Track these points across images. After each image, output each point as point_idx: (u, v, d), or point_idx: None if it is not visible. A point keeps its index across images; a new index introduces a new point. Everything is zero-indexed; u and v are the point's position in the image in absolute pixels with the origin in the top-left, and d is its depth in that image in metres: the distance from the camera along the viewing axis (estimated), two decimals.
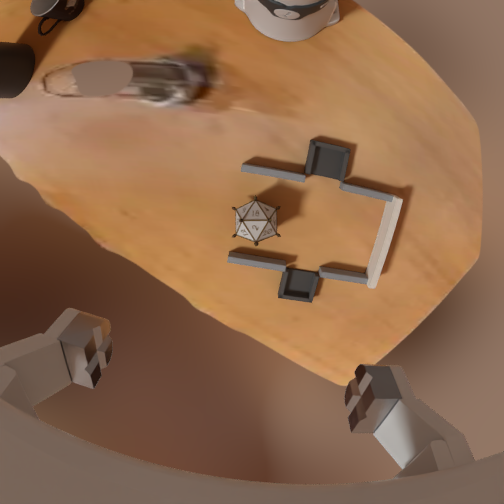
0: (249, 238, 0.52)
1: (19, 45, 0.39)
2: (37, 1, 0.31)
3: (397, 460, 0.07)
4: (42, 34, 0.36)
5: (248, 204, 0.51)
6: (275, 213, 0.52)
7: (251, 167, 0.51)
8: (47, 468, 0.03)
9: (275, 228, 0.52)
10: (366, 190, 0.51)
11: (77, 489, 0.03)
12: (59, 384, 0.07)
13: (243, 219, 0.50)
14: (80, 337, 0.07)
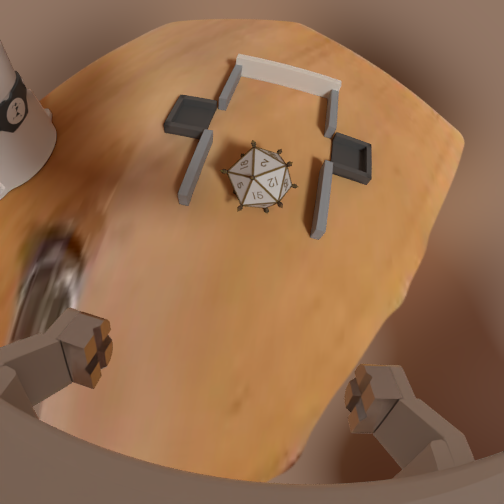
0: (282, 175, 0.34)
1: None
2: None
3: (397, 460, 0.07)
4: None
5: (233, 181, 0.35)
6: None
7: (183, 183, 0.37)
8: (47, 468, 0.03)
9: None
10: (228, 82, 0.44)
11: (77, 489, 0.03)
12: (59, 384, 0.07)
13: None
14: (80, 337, 0.07)
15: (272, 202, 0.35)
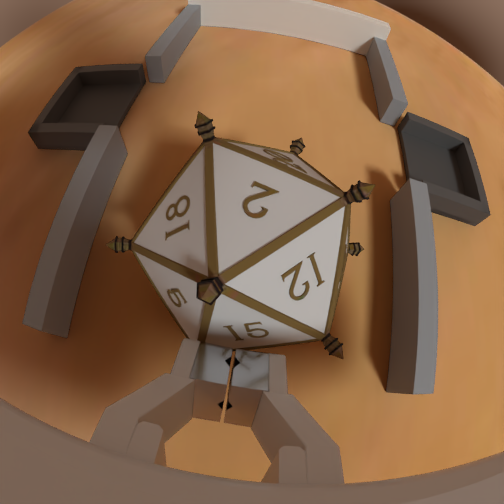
0: (335, 243, 0.08)
1: None
2: None
3: (272, 462, 0.07)
4: None
5: (154, 280, 0.10)
6: None
7: (34, 289, 0.11)
8: (47, 468, 0.03)
9: None
10: (169, 28, 0.18)
11: (77, 489, 0.03)
12: (181, 423, 0.07)
13: (207, 275, 0.07)
14: (216, 372, 0.07)
15: (304, 341, 0.09)
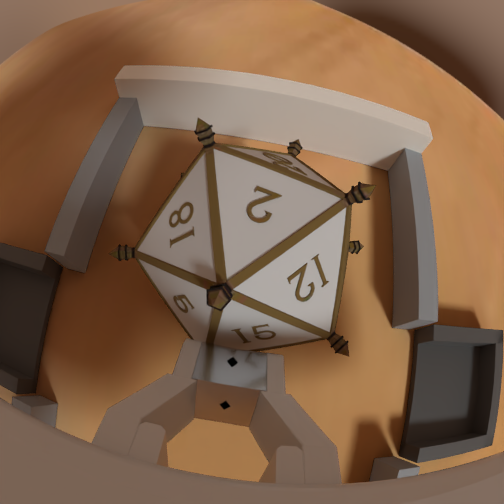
0: (338, 244, 0.08)
1: None
2: None
3: (270, 462, 0.07)
4: None
5: (159, 287, 0.10)
6: None
7: None
8: (47, 468, 0.03)
9: None
10: (80, 171, 0.13)
11: (77, 489, 0.03)
12: (183, 424, 0.07)
13: (215, 282, 0.07)
14: (218, 372, 0.07)
15: (310, 340, 0.09)
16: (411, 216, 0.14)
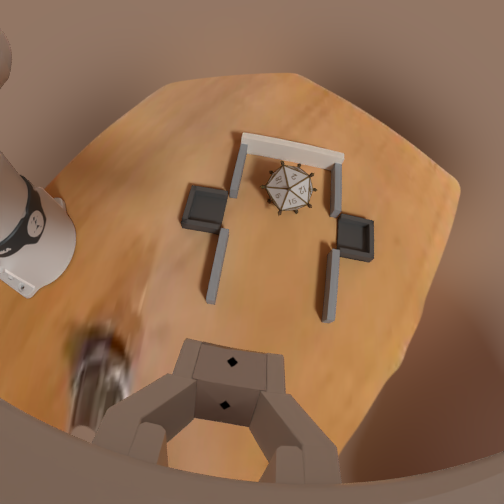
0: (307, 184, 0.45)
1: None
2: None
3: (270, 462, 0.07)
4: None
5: (271, 193, 0.46)
6: None
7: (209, 288, 0.42)
8: (47, 468, 0.03)
9: None
10: (236, 167, 0.50)
11: (77, 489, 0.03)
12: (183, 423, 0.07)
13: (287, 188, 0.44)
14: (218, 372, 0.07)
15: (303, 205, 0.46)
16: (334, 183, 0.51)
